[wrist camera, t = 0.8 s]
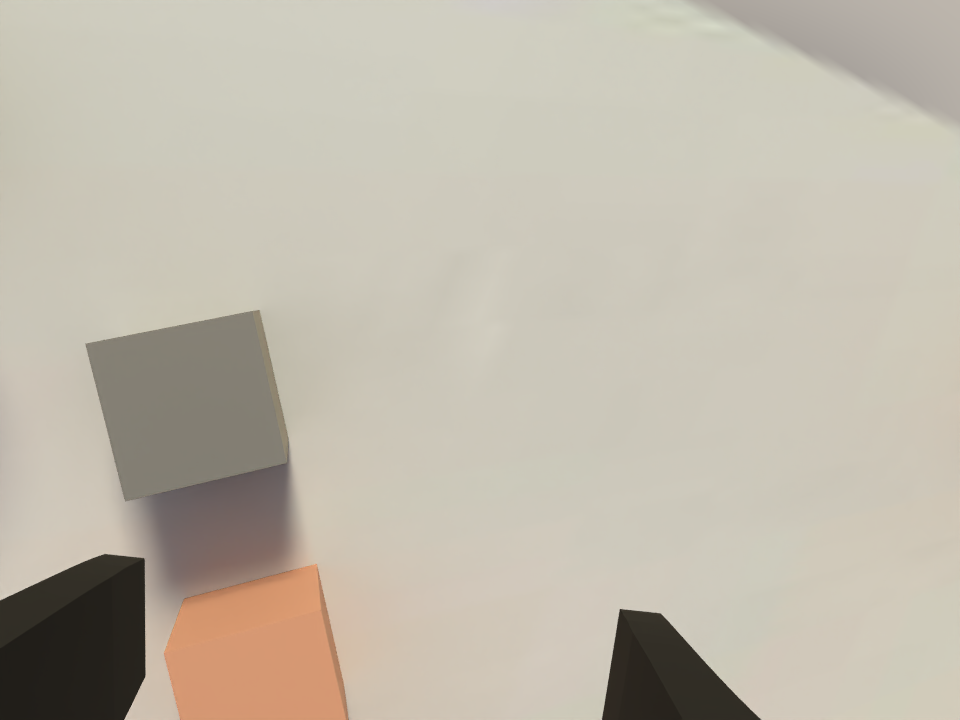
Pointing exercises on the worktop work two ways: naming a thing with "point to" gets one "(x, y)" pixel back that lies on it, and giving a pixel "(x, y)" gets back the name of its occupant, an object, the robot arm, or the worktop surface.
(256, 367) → the gray cube
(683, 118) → the worktop surface
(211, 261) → the worktop surface
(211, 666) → the terracotta cube
